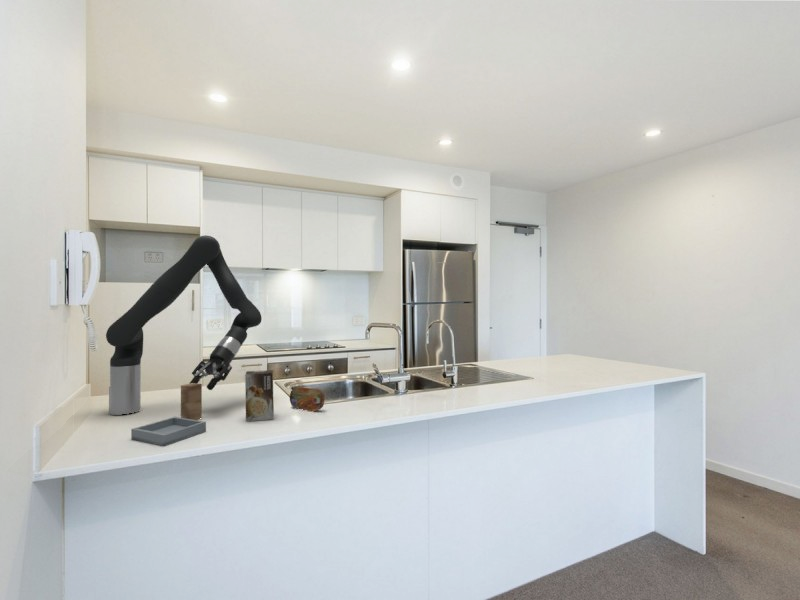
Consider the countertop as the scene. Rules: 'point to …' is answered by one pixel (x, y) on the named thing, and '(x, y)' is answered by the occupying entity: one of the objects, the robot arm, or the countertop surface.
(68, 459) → the countertop surface
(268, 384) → the coffee box
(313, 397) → the tin
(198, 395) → the walnut block
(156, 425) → the tray
